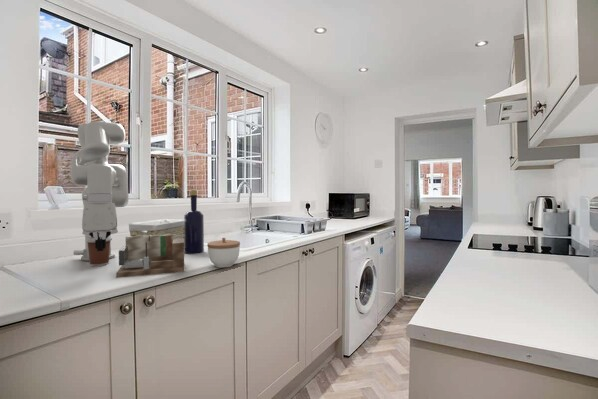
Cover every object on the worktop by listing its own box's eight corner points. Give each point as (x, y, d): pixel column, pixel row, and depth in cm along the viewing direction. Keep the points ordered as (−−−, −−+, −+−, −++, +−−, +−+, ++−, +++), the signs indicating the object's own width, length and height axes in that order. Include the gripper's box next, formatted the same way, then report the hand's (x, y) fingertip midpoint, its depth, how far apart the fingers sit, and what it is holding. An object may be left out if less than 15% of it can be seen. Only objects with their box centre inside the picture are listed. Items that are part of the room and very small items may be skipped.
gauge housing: (116, 277, 109) (115, 242, 109) (123, 267, 123) (123, 236, 123) (184, 271, 117) (184, 239, 117) (183, 263, 131) (183, 234, 131)
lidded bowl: (232, 270, 120) (232, 240, 120) (201, 268, 123) (201, 239, 122) (244, 262, 132) (244, 236, 132) (216, 261, 135) (216, 235, 135)
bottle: (208, 251, 155) (207, 190, 154) (192, 254, 148) (191, 190, 147) (195, 249, 160) (195, 190, 159) (180, 252, 153) (179, 190, 152)
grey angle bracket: (118, 271, 110) (117, 251, 110) (123, 264, 121) (123, 246, 121) (142, 269, 113) (142, 250, 113) (145, 262, 123) (145, 245, 123)
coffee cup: (117, 261, 133) (117, 233, 132) (101, 267, 124) (101, 236, 123) (97, 261, 134) (96, 232, 133) (80, 266, 125) (79, 236, 124)
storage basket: (155, 256, 145) (154, 224, 144) (127, 254, 150) (126, 222, 149) (188, 247, 167) (188, 219, 167) (163, 245, 173) (163, 218, 172)
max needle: (143, 269, 113) (143, 242, 113) (144, 268, 114) (143, 241, 114) (148, 268, 114) (148, 242, 113) (149, 268, 115) (148, 241, 114)
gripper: (71, 199, 107) (72, 253, 107) (121, 198, 112) (122, 250, 113) (78, 199, 114) (79, 250, 114) (125, 198, 119) (126, 247, 120)
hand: (100, 250), depth 113 cm, fingers closed
